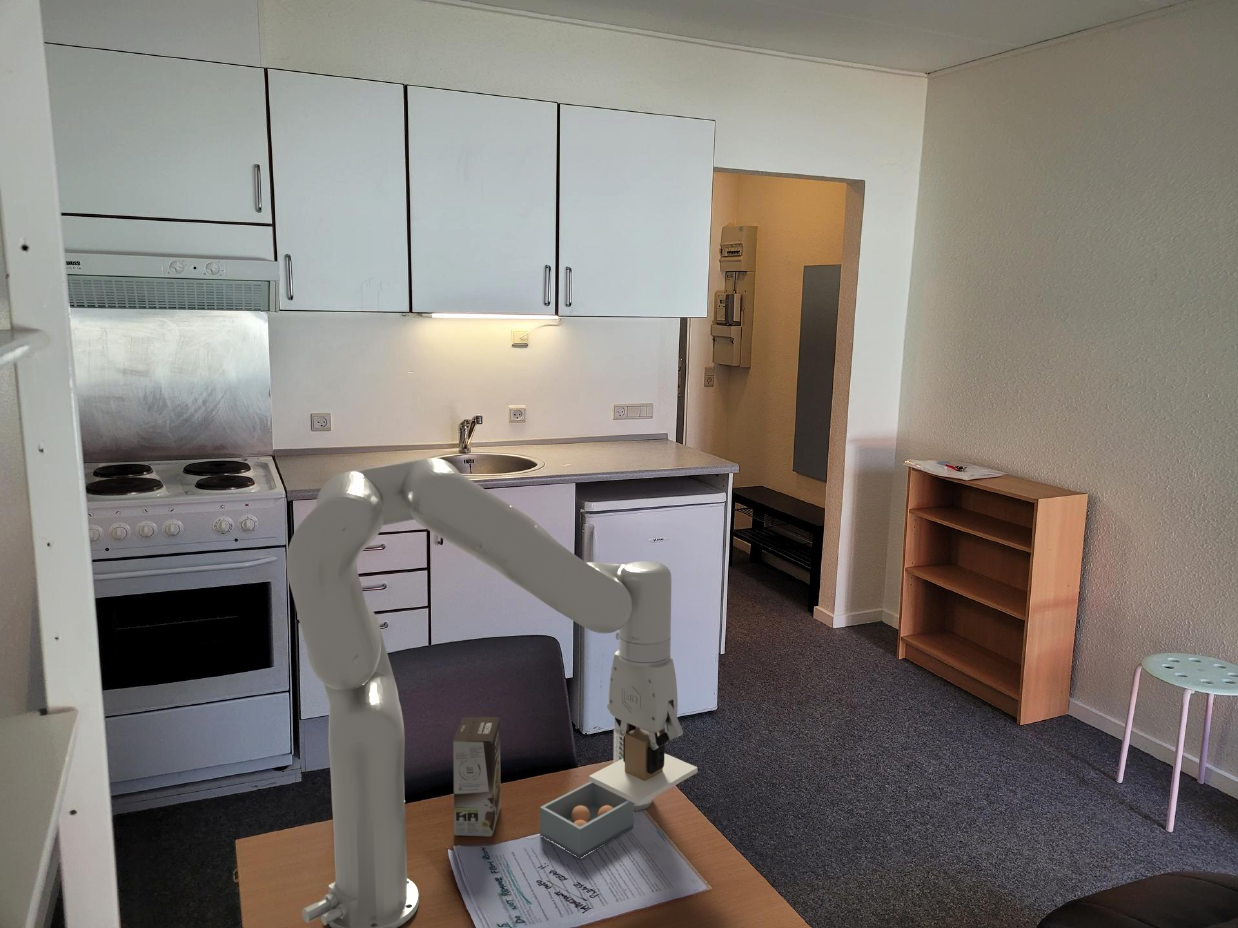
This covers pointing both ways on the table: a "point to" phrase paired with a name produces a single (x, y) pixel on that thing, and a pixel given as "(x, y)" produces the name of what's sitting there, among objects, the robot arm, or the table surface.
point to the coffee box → (476, 776)
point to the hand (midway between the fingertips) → (643, 763)
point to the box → (597, 829)
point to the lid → (641, 771)
